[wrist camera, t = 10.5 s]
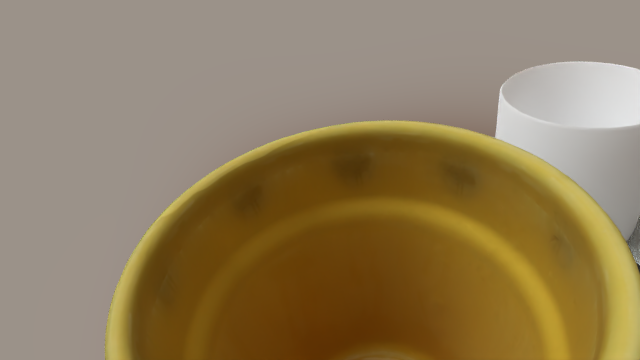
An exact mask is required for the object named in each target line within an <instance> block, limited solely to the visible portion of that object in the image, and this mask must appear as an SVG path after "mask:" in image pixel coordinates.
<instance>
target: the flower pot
mask: <svg viewBox="0 0 640 360" xmlns="http://www.w3.org/2000/svg"><path fill="white" fill-rule="evenodd" d="M105 360H640V273H639V270H638V267H637V264H636V262H635V259H634V257H633V255H632V253H631V251H630V249H629V247H628V244H627V242H626V240H625V239H624V237H623V236H622V234H621V232H620V230H619V229H618V228H617V226H616V225H615V224H614V222H613V221H612V220H611V218H610V217H609V216H608V214H607V213H606V212H605V211H604V210H603V209H602V208H601V206H600V205H599V204H598V203H597V202H596V201H595V200H594V199H593V198H592V197H591V196H590V195H589V194H588V193H587V192H586V191H585V190H584V189H583V188H582V187H580V186H579V185H578V184H577V183H576V182H575V181H573V180H572V179H571V178H570V177H568V176H567V175H565V174H564V173H563V172H561V171H560V170H558V169H557V168H555V167H554V166H552V165H550V164H549V163H547V162H546V161H544V160H543V159H541V158H539V157H537V156H535V155H533V154H531V153H530V152H527V151H525V150H523V149H521V148H519V147H516V146H514V145H512V144H509V143H507V142H504V141H502V140H499V139H496V138H493V137H490V136H488V135H484V134H481V133H477V132H474V131H470V130H466V129H462V128H457V127H452V126H446V125H441V124H435V123H426V122H417V121H365V122H354V123H347V124H340V125H334V126H328V127H323V128H318V129H314V130H310V131H306V132H302V133H298V134H295V135H292V136H288V137H285V138H281V139H279V140H276V141H273V142H271V143H268V144H266V145H263V146H261V147H258V148H256V149H254V150H251V151H249V152H247V153H245V154H243V155H241V156H239V157H237V158H235V159H233V160H231V161H230V162H228V163H226V164H224V165H222V166H221V167H219V168H217V169H216V170H214V171H213V172H211V173H210V174H208V175H207V176H205V177H204V178H203V179H201V180H200V181H198V182H197V183H196V184H194V185H193V186H192V187H190V188H189V189H188V190H187V191H185V192H184V193H183V194H182V195H181V196H179V197H178V198H177V199H176V200H175V201H174V202H173V203H172V204H171V205H170V206H169V207H167V209H165V210H164V212H163V213H162V214H161V215H160V216H159V217H158V218H157V220H156V221H155V222H154V223H153V224H152V225H151V226H150V228H149V229H148V230H147V232H146V233H145V234H144V236H143V237H142V239H141V240H140V242H139V243H138V245H137V246H136V248H135V250H134V251H133V253H132V255H131V257H130V258H129V260H128V262H127V264H126V266H125V268H124V271H123V273H122V276H121V277H120V280H119V282H118V284H117V287H116V289H115V292H114V295H113V298H112V302H111V306H110V310H109V315H108V321H107V326H106V337H105Z"/></svg>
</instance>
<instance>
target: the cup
mask: <svg viewBox="0 0 640 360" xmlns="http://www.w3.org/2000/svg"><path fill="white" fill-rule="evenodd" d="M495 138H496V139H499V140H502V141H504V142H507V143H509V144H512V145H514V146H516V147H519V148H521V149H523V150H525V151H527V152H530V153H531V154H533V155H535V156H537V157H539V158H541V159H543V160H544V161H546V162H547V163H549V164H550V165H552V166H554V167H555V168H557V169H558V170H560V171H561V172H563V173H564V174H565V175H567V176H568V177H570V178H571V179H572V180H573V181H575V182H576V183H577V184H578V185H579V186H580V187H582V188H583V189H584V190H585V191H586V192H587V193H588V194H589V195H590V196H591V197H592V198H593V199H594V200H595V201H596V202H597V203H598V204H599V205H600V206H601V208H602V209H603V210H604V211H605V212H606V213H607V214H608V216H609V217H610V218H611V220H612V221H613V222H614V224H615V225H616V226H617V228H618V229H619V230H620V232H621V234H622V236H623V237H624V239H625V240H626V241H628V240H629V238H630V236H631V235H632V233H633V231H634V229H635V227H636V224H637V222H638V219H639V216H640V70H639V69H635V68H631V67H627V66H622V65H616V64H610V63H599V62H560V63H553V64H545V65H541V66H535V67H532V68H529V69H526V70H523V71H521V72H519V73H517V74H515V75H513V76H512V77H510V78H509V79H508V80H506V81H505V82H504V84H503V86H502V87H501V89H500V95H499V106H498V117H497V127H496V137H495Z"/></svg>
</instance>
